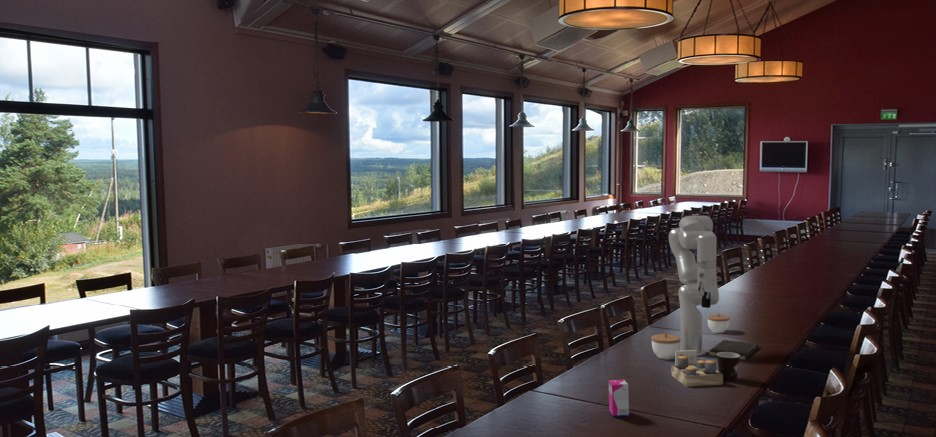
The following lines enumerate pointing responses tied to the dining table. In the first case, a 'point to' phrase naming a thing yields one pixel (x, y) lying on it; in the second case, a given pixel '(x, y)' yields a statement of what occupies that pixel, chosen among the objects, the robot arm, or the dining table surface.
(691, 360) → the card
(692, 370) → the button
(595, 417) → the dining table surface
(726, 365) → the coffee mug
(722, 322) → the lidded jar
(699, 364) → the button
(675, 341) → the lidded bowl
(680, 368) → the button
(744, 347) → the hardcover book
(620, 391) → the supplement box
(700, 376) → the button board
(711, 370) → the button
